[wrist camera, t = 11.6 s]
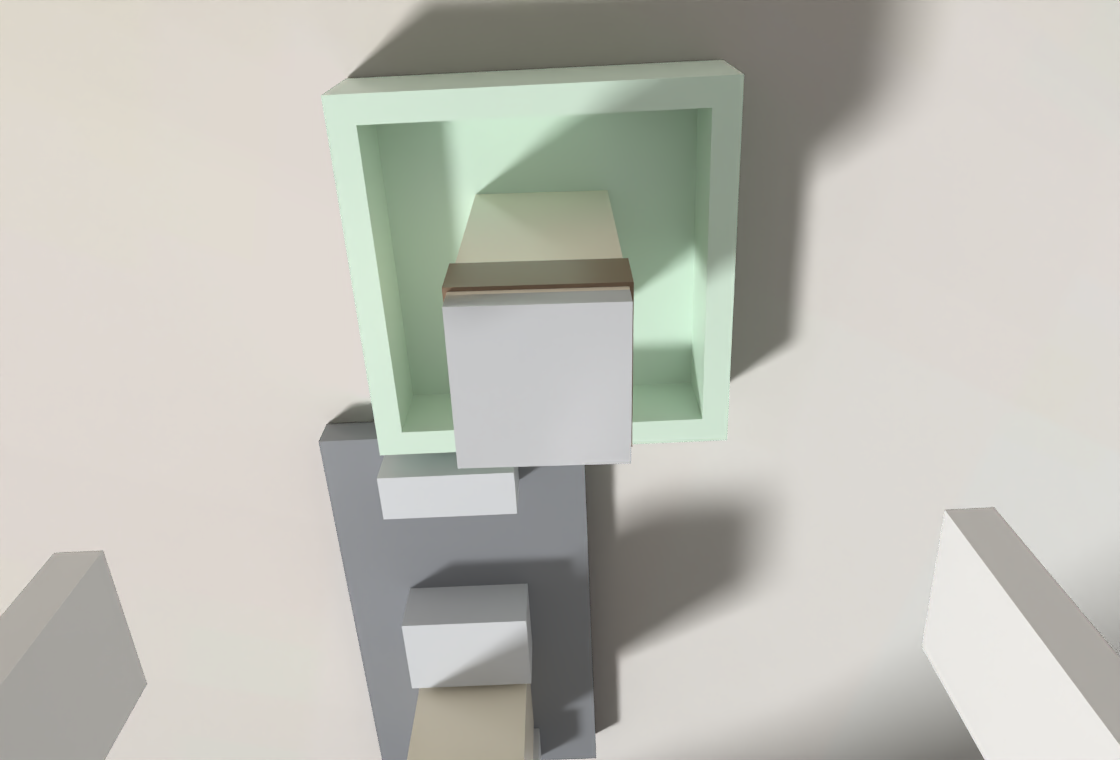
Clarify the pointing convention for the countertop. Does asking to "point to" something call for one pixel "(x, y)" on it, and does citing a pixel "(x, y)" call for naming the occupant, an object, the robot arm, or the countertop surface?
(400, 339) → the tray
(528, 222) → the block
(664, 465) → the countertop surface
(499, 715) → the block
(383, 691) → the block
